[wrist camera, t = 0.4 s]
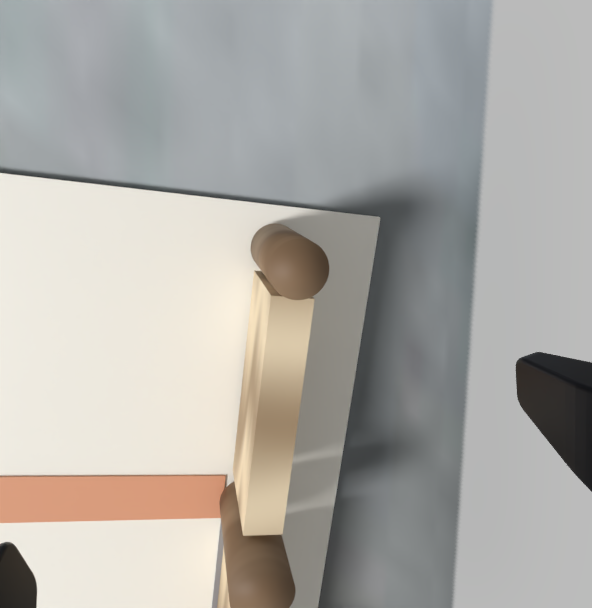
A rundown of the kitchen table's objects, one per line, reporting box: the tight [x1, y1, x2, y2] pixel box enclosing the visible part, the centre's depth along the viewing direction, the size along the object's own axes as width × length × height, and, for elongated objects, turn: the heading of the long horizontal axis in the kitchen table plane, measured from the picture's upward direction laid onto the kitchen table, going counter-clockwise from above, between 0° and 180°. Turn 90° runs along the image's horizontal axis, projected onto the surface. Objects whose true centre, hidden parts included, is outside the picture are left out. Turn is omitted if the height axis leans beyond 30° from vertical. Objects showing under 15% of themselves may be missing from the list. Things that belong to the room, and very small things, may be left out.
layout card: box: [0, 173, 381, 608], centre depth 23 cm, size 25×19×1 cm
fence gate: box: [219, 223, 329, 608], centre depth 20 cm, size 14×2×6 cm, turn 172°
